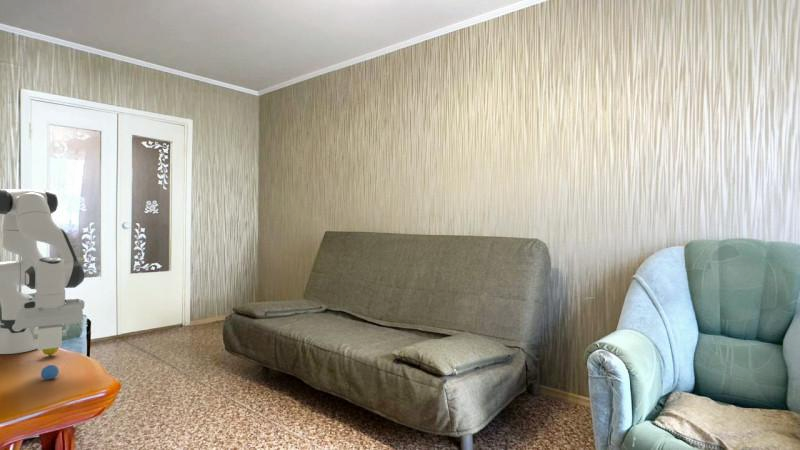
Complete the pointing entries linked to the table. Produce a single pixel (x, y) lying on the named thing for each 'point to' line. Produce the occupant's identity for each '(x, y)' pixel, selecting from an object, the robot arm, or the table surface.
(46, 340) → the matte ivory cube
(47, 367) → the ball
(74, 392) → the table surface
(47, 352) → the lemon
